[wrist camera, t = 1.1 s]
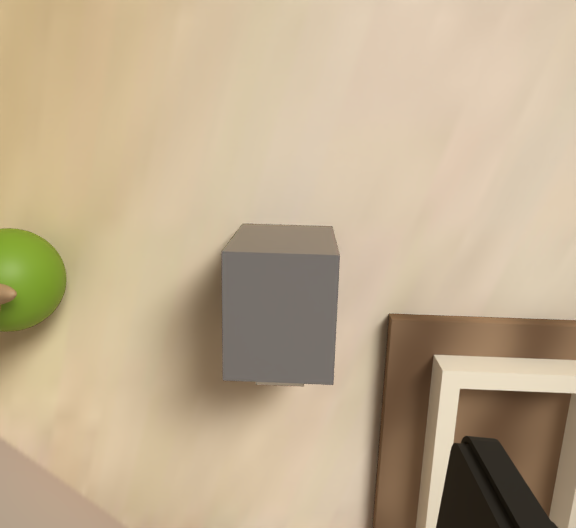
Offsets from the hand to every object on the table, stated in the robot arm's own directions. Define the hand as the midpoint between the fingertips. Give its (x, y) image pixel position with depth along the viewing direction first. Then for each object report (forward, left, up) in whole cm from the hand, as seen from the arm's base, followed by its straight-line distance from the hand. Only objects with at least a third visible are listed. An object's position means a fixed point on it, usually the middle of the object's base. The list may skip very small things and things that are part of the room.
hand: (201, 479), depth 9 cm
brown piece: (-14, +12, -20) cm, 27 cm away
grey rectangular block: (-1, +2, -20) cm, 20 cm away
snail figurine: (+14, +2, -20) cm, 24 cm away
